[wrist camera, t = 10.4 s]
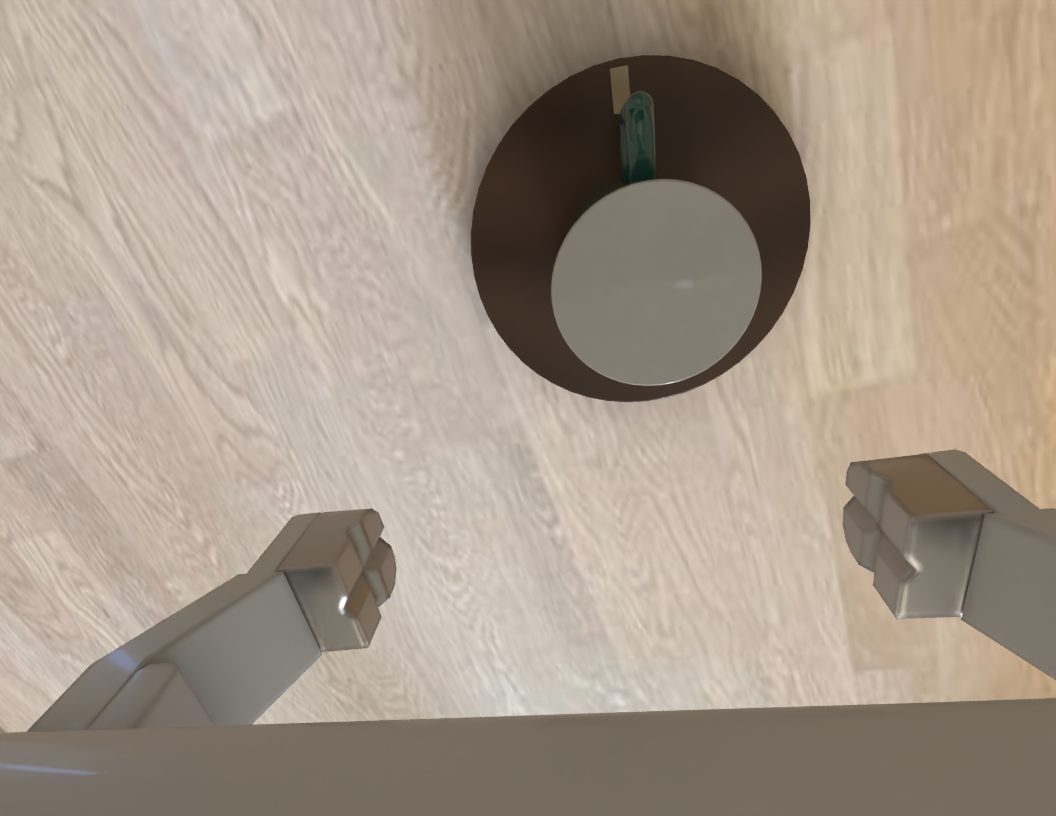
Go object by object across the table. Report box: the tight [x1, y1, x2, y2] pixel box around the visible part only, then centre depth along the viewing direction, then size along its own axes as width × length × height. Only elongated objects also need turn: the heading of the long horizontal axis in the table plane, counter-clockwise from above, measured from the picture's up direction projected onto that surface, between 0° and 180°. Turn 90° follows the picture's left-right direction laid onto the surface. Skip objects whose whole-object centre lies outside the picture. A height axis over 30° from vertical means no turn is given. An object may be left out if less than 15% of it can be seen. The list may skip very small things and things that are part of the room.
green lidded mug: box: [551, 91, 762, 386], centre depth 20 cm, size 7×9×8 cm
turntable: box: [471, 55, 810, 402], centre depth 24 cm, size 15×15×2 cm
